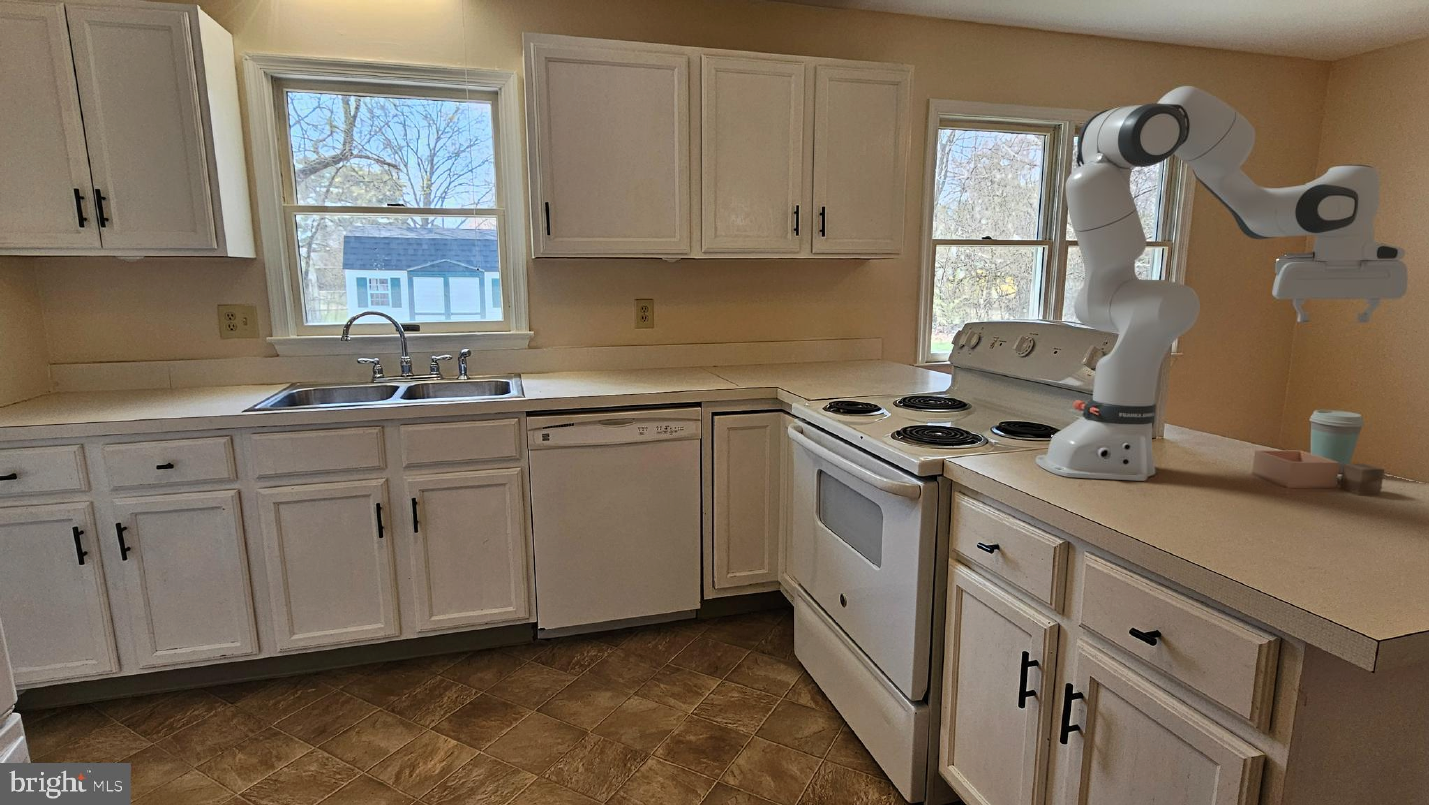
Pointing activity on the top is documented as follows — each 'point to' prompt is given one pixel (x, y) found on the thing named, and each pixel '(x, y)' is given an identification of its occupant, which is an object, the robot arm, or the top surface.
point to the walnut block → (1361, 479)
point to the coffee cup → (1335, 435)
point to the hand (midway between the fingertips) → (1332, 322)
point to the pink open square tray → (1295, 469)
